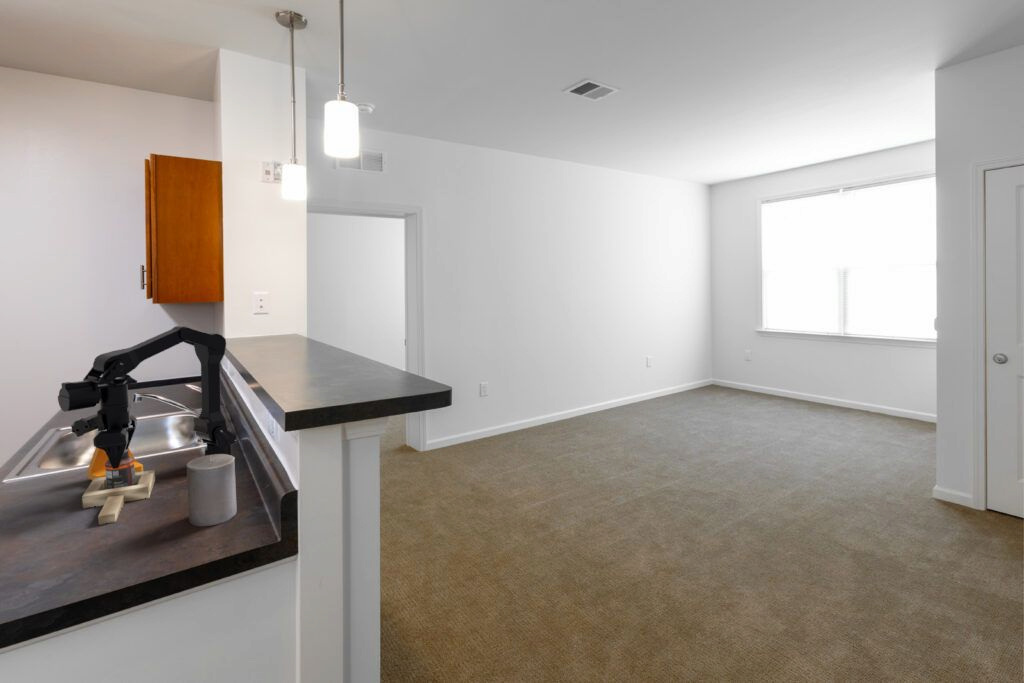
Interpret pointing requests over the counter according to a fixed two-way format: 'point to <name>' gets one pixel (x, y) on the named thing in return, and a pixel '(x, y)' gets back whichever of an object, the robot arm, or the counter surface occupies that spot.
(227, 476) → the pillar candle
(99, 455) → the bracket
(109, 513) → the wooden frame with handle
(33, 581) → the counter surface
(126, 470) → the supplement bottle
